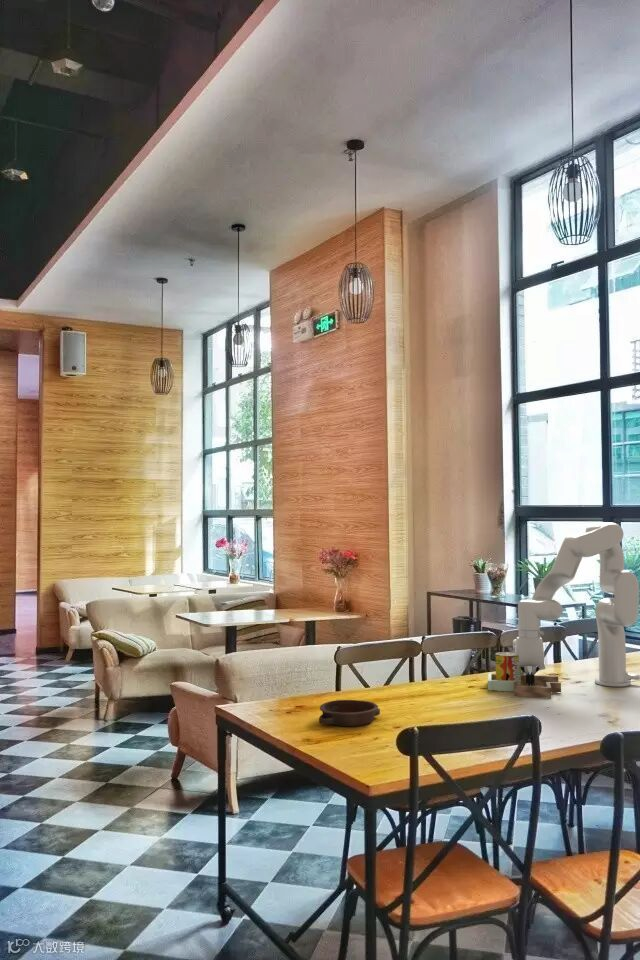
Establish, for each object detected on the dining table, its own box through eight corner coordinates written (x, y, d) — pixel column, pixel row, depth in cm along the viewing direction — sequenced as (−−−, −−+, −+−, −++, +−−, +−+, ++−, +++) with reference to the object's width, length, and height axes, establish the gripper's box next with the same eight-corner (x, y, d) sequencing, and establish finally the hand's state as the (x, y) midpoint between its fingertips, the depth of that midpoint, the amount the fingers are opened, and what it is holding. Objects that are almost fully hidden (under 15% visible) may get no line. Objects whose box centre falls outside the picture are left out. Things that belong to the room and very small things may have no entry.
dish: (303, 722, 243) (302, 705, 243) (359, 711, 256) (359, 695, 256) (337, 734, 229) (337, 716, 229) (395, 722, 242) (395, 705, 242)
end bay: (516, 683, 297) (516, 674, 297) (517, 691, 283) (517, 681, 283) (488, 682, 299) (488, 673, 299) (487, 690, 285) (487, 680, 285)
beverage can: (494, 688, 288) (493, 655, 289) (497, 684, 296) (497, 651, 297) (519, 690, 285) (519, 656, 286) (522, 685, 293) (521, 652, 294)
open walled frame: (558, 685, 293) (558, 676, 293) (563, 698, 272) (562, 688, 272) (491, 683, 298) (491, 673, 298) (491, 695, 277) (491, 685, 277)
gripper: (549, 633, 292) (551, 683, 291) (507, 632, 295) (509, 682, 294) (551, 636, 284) (552, 688, 284) (508, 635, 288) (509, 686, 287)
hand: (530, 685), depth 289 cm, fingers closed
